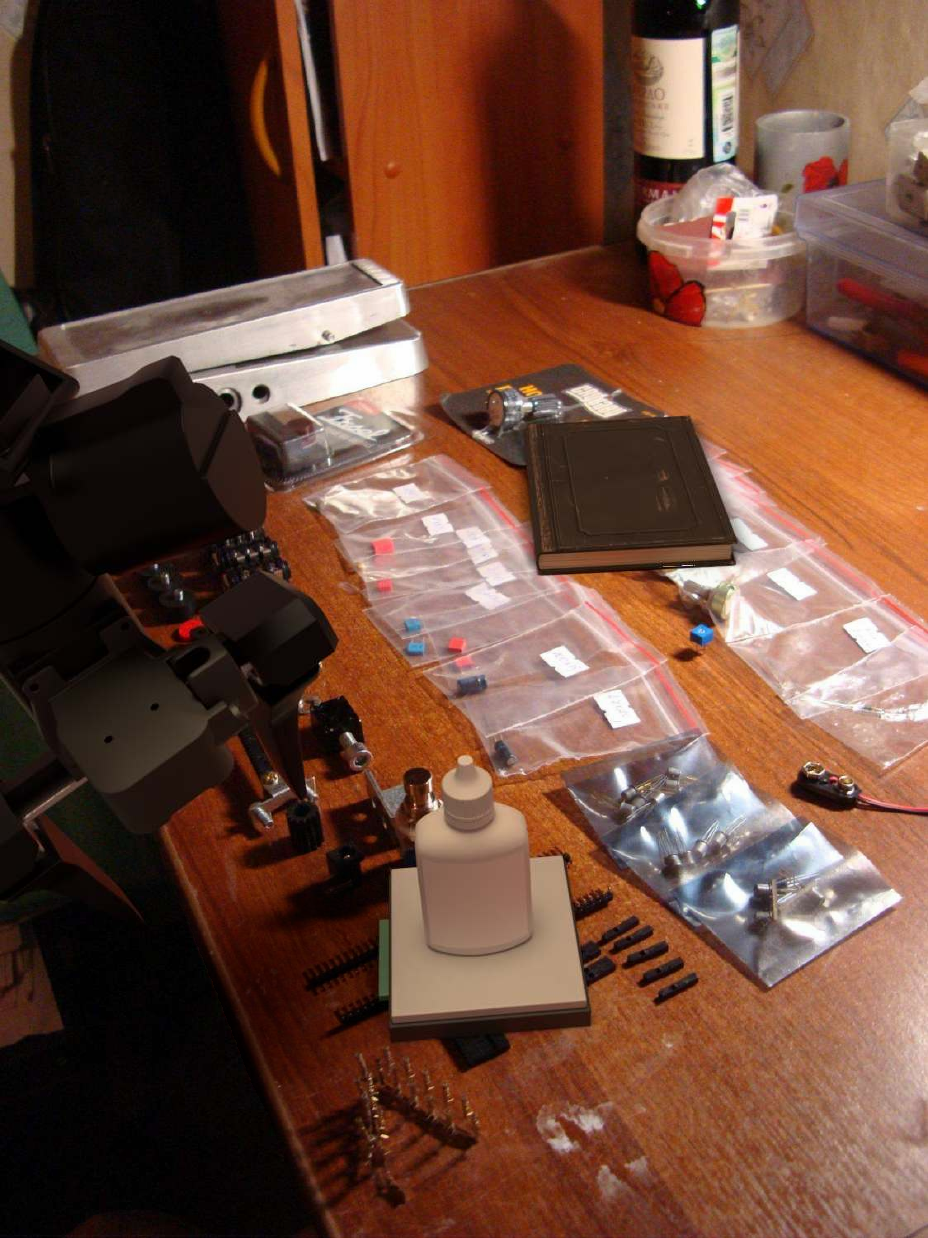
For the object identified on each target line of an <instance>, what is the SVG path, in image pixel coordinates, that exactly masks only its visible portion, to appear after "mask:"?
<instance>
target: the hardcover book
mask: <svg viewBox="0 0 928 1238" xmlns="http://www.w3.org/2000/svg"><path fill="white" fill-rule="evenodd" d="M523 445H524V455H525V465H526V475H527V485H528V494H529V495H528V496H529V503H530V504H529V505H530V515H531V523H532V534H533V543H534V555H535V564H536V570H537V571H538V572H539V573H540V574H542V575H546V576H547V575H563V574H580V573H598V572H617V571H636V570H654V569H655V570H657V569H661V568H660V567H663V566H682V565H693V566H694V565H695V567H707V566H706V565H713V566H728V565H727V564H732V565H736V564H737V561H736V558H735V555H734V552H733V549H732V545H738V544H739V543H738V542H739V541H738V538H737V536H736V533H735V530H734V527H733V525H732V522H731V520H730V517H729V514H728V512H727V509H726V506H725V504H724V502H723V498H722V496H721V493H720V491H719V487H718V486H717V482H716V480H715V478H714V475H713V472H712V469H711V467H710V464H709V461H708V458H707V456H706V454H705V451H704V448H703V446H702V443H701V440H700V438H699V435H698V433H697V430H696V427H695V425H694V421H693V419H692V417H691V415H690V414H687V415H671V416H669V415H668V416H656V417H655V416H654V417H637V418H619V419H618V418H617V419H604V420H601V419H600V420H585V421H567V422H553V423H552V422H551V423H535V424H534V423H533V424H532V423H531V424H528V425H527V426H525V428H524V429H523ZM722 564H723V565H722ZM702 565H703V566H702Z"/></svg>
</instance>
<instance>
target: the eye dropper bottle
mask: <svg viewBox="0 0 928 1238" xmlns="http://www.w3.org/2000/svg"><path fill="white" fill-rule="evenodd" d="M473 759H474V758H473V757H471V756H470V755H467V754H464V755H461V756H459V757H458V759H457V762H456V767H454V768H452V769H450V770H449V771H448V772H446V774H445V775H444V776H443V778H442V780H441V783H440V785H441V797H442V806H441V807H439V808H437V809H434V810H432V811H431V812H429V813H427V814H425V815H424V816H422V817H421V818H419V820H418V821H417V822H416V824H415V826H414V852H415V853H414V854H415V863H416V867H417V872H418V881H419V889H420V898H421V906H422V915H423V923H424V931H425V938H426V941H427V943H428V945H429V946H430V947H432V948H433V949H435V950H438V951H442V952H446V953H452V954H459V955H481V954H489V953H494V952H498V951H502V950H505V949H508V948H511V947H514V946H516V945H518V944H520V943H522V942H524V941H526V940H527V939H528V938H529V937H530V936H531V933H532V929H533V921H532V895H531V871H530V858H531V856H530V855H531V853H530V852H531V851H530V839H529V831H528V825H527V821H526V820H527V819H526V818H525V816H524V814H523V812H521V811H520V810H518V809H516V808H515V807H512V806H510V805H507V804H505V803H504V804H503V803H500V802H496V801H495V799H494V798H495V797H494V782H493V777H492V776H491V774H490V773H489V772H488V771H487V770H486V769H484V768H483V767H480V766H476V765H475V762H474V760H473Z"/></svg>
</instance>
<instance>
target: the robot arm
mask: <svg viewBox="0 0 928 1238" xmlns="http://www.w3.org/2000/svg"><path fill="white" fill-rule="evenodd" d="M80 390H81V384H80V381H78V379H77V378H75V377H74V376H72V375H70V374H68V373H67V372H65V371H62V370H61V369H59V368H57V367H55V366H53V365H51V364H49V363H47V362H45V361H44V360H42V359H39V358H38V357H36V356H34V355H32V354H30V353H28V352H27V351H25V350H23V349H21V348H19V347H17V346H15V345H14V344H11V343H9V342H8V341H6V340H4V339H3V338H0V679H1V681H2V682H3V684H5V686H6V687H7V688H8V690H9V691H10V692H11V694H12V695H13V696H14V698H15V699H16V700H17V701H18V703H19V704H20V705H21V706H22V708H23V709H24V710H25V711H26V713H27V715H29V717H31V719H32V721H33V722H34V723H35V725H36V729H37V732H38V733H39V735H40V737H41V738H42V740H43V742H44V743H45V745H47V747H48V748H49V749H47V751H45V752H43V754H41V755H39V756H38V757H37V758H35V759H34V760H32V761H31V762H30V763H28V764H27V765H25V766H24V767H22V768H20V770H18V771H17V772H14V774H12V775H11V776H9V777H8V778H6V779H5V780H4V779H3V778H2V777H1V776H0V903H2V904H11V903H14V902H15V901H17V900H18V899H20V898H21V897H22V896H24V895H26V894H29V893H35V892H39V891H48V892H51V893H56V894H59V895H62V896H66V897H68V898H72V899H74V900H77V901H79V902H82V903H83V904H86V905H88V906H90V907H92V908H94V909H96V910H99V912H100V911H101V912H103V913H104V914H107V915H109V916H111V917H114V918H115V919H117V920H120V921H122V922H123V923H126V924H128V925H130V926H132V927H135V928H139V927H140V926H141V925H143V924H144V922H145V920H144V919H143V917H142V916H141V914H140V912H139V910H138V909H137V908H136V907H135V906H134V904H133V903H132V902H131V900H130V899H129V898H128V896H127V895H126V894H125V893H124V891H123V890H122V889H121V888H120V886H119V885H118V884H117V883H116V882H114V880H113V879H111V877H109V876H108V875H107V874H106V873H105V871H103V870H102V869H101V868H100V866H98V865H97V864H96V863H95V862H94V861H93V860H92V859H91V858H90V857H89V856H88V854H86V853H85V852H84V851H83V850H82V849H81V848H80V847H79V846H77V844H76V843H74V842H73V840H71V839H70V837H68V836H67V834H65V833H64V831H62V830H61V828H59V827H58V826H57V824H55V823H54V822H53V821H52V819H50V818H49V817H48V816H47V815H46V814H45V812H46V811H47V810H49V809H51V807H53V806H55V804H57V803H59V802H60V801H62V800H63V799H64V798H66V797H67V796H68V795H70V794H71V793H73V792H74V791H75V790H77V789H79V788H80V787H81V786H83V785H84V784H85V783H87V782H89V784H90V785H91V786H92V788H93V789H94V790H95V792H96V793H97V794H98V795H99V796H100V798H101V799H102V800H103V802H104V803H105V804H106V805H107V806H108V808H109V809H110V810H111V812H112V813H113V814H114V815H115V816H116V818H117V819H118V820H119V821H120V823H121V824H122V825H123V826H124V828H125V829H126V830H127V831H128V832H130V833H132V834H134V835H138V836H139V835H141V836H142V835H149V834H152V833H154V832H156V831H158V830H160V829H161V828H163V827H164V826H166V825H167V824H169V822H170V820H171V819H172V817H173V816H174V815H175V814H177V813H178V812H179V811H180V810H182V809H183V808H184V807H186V806H187V805H188V804H189V803H191V802H193V801H194V800H195V799H197V797H199V796H200V795H201V794H204V792H206V791H208V790H209V789H214V788H216V787H218V786H220V784H222V783H223V782H224V781H225V780H226V779H227V778H228V777H229V776H230V775H231V773H232V771H233V769H234V766H235V757H234V754H233V752H232V750H231V748H230V746H229V745H228V743H227V742H228V741H229V740H231V739H233V737H235V736H237V735H238V734H239V733H240V732H242V731H243V730H245V729H246V728H247V727H249V726H250V723H251V726H252V727H253V729H254V731H255V733H256V735H257V737H258V738H259V740H260V743H261V744H262V747H263V748H264V750H265V752H266V754H267V756H268V758H269V760H270V762H271V763H272V765H273V767H274V769H275V771H276V772H277V773H278V774H279V776H280V777H281V779H282V780H283V782H284V783H285V785H286V786H287V788H288V789H289V790H290V792H291V793H292V794H293V795H294V796H295V797H296V798H297V799H298V800H299V801H300V802H302V801H304V800H305V799H307V798H308V796H309V795H308V788H307V787H308V786H307V781H306V775H305V774H306V773H305V768H304V766H305V765H304V760H303V754H302V747H301V740H300V739H301V738H300V731H299V705H300V701H301V700H302V697H303V695H304V693H305V692H306V690H307V688H308V687H309V686H310V685H312V684H313V683H315V682H316V681H317V680H318V679H319V678H320V675H321V665H320V663H321V662H323V661H324V660H325V659H327V658H329V656H331V655H332V654H334V653H335V652H336V649H337V647H338V644H339V642H340V639H339V638H338V636H337V634H336V631H335V630H334V628H333V627H332V624H331V623H330V621H329V619H328V617H327V615H326V614H325V611H323V610H322V608H321V607H320V606H319V604H318V603H317V602H316V601H315V600H314V598H313V597H311V596H310V595H308V594H306V593H305V592H304V591H302V590H300V589H299V588H297V587H296V586H295V585H294V584H293V585H292V583H290V582H289V581H287V580H286V579H284V578H282V577H281V576H279V575H278V574H276V573H273V572H268V571H264V570H260V569H258V570H256V571H255V572H253V573H252V574H251V575H249V576H248V577H245V579H243V580H242V581H240V582H239V583H237V584H236V585H234V586H233V587H231V588H230V589H229V590H227V591H225V592H224V593H222V594H221V595H220V596H219V597H217V598H215V599H214V600H212V601H211V602H210V603H208V604H206V605H204V607H202V608H201V609H199V610H198V611H197V612H198V616H199V620H200V622H201V624H202V625H203V627H204V629H205V630H206V633H204V634H203V635H202V636H200V637H199V638H198V639H196V640H194V641H193V642H192V643H190V644H189V645H188V646H187V645H186V647H184V648H183V649H181V650H180V649H179V648H178V647H177V646H176V645H174V646H171V647H170V648H169V649H167V648H166V647H165V646H164V645H162V644H161V643H160V642H159V641H157V640H155V639H154V638H153V637H151V636H150V634H149V633H148V632H147V630H146V629H145V626H143V624H142V622H141V621H140V619H139V618H138V616H137V615H136V613H135V612H134V611H133V609H132V608H131V606H130V605H129V603H128V601H127V600H126V599H125V597H124V596H123V594H122V593H121V591H120V590H119V588H118V587H117V585H116V584H115V582H114V581H113V579H112V578H111V576H110V575H112V576H119V577H122V576H126V575H128V574H131V573H134V572H137V571H141V570H144V569H146V568H150V567H152V566H155V565H158V564H161V563H164V562H167V561H170V560H174V559H176V558H179V557H182V556H185V555H188V554H191V553H193V552H197V551H199V550H203V549H205V548H208V547H211V546H212V547H213V546H214V545H218V544H221V543H223V542H226V541H229V540H231V539H232V540H233V539H236V538H238V537H242V536H245V535H247V534H250V533H253V532H257V531H259V530H260V529H261V528H262V527H263V525H265V521H266V518H267V510H268V509H267V508H268V501H267V488H266V483H265V478H264V473H263V470H262V466H261V462H260V458H259V455H258V454H257V451H256V448H255V445H254V442H253V439H252V438H251V435H250V434H249V431H248V429H247V426H246V425H245V423H244V421H243V420H242V418H241V416H240V414H239V413H238V411H237V409H235V408H232V409H230V408H229V406H228V405H227V404H226V402H225V400H223V398H222V397H221V396H220V395H219V394H218V393H217V392H216V391H215V390H214V389H213V388H211V387H210V386H208V385H206V384H205V383H203V382H197V381H195V382H194V381H193V379H192V377H191V375H190V373H189V371H188V370H187V368H186V366H185V364H184V362H183V360H182V359H181V357H179V356H176V355H173V354H170V355H169V356H165V357H164V358H163V357H162V359H159V360H158V359H157V360H155V361H153V362H151V363H148V364H146V365H144V366H142V367H141V368H139V369H138V370H137V371H135V372H134V373H133V374H131V375H130V376H128V377H126V378H124V379H122V380H119V381H116V382H114V383H111V384H109V385H106V386H103V387H101V388H98V389H95V390H92V391H90V392H88V393H85V394H82V395H80V396H78V394H79V393H80ZM245 716H247V718H248V719H247V718H246V717H245ZM248 720H249V721H248ZM249 722H250V723H249Z"/></svg>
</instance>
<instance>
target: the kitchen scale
mask: <svg viewBox="0 0 928 1238" xmlns="http://www.w3.org/2000/svg"><path fill="white" fill-rule="evenodd" d="M530 871H531V895H532V921H533V929H532V933H531V936H530V937H529V938H528V939H527V940H526V941H524V942H522V943H520V944H518V945H516V946H514V947H511V948H508V949H505V950H502V951H498V952H494V953H489V954H481V955H459V954H452V953H446V952H442V951H438V950H435V949H433V948H432V947H430V946H429V945H428V943H427V941H426V938H425V931H424V923H423V915H422V906H421V898H420V889H419V881H418V872H417V866H416V867H406V868H405V867H403V868H393V869H391V871H390V874H389V875H388V918H385V919H379V922H378V923H379V924H378V1000H379V1001H380V1002H385V1001H388V1031H389V1038H390V1042H391V1043H403V1042H415V1041H416V1042H417V1041H427V1040H439V1039H451V1038H463V1037H464V1038H465V1037H474V1036H486V1035H487V1036H489V1035H498V1034H499V1035H501V1034H510V1033H522V1032H523V1033H525V1032H534V1031H547V1030H557V1029H560V1030H561V1029H571V1028H581V1027H582V1028H583V1027H584V1028H585V1027H590V1026H591V1025H592V1009H591V1002H590V997H589V989H588V985H587V980H586V979H587V978H586V974H585V968H584V962H583V954H582V949H581V943H580V937H579V931H578V926H577V925H578V924H577V919H576V913H575V908H574V901H573V895H572V890H571V884H570V877H569V872H568V871H569V870H568V866H567V861H566V860H565V859H564V857H563V855H551V856H540V857H539V856H538V857H530Z"/></svg>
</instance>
